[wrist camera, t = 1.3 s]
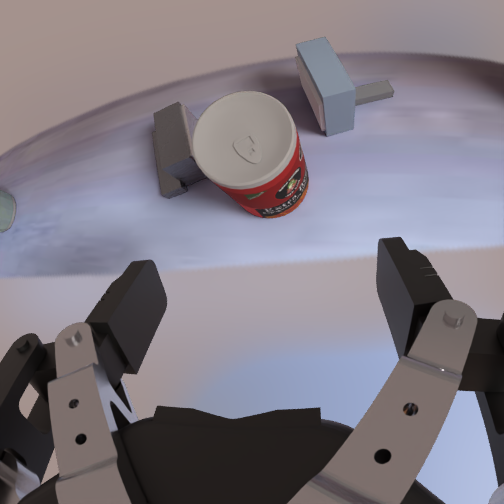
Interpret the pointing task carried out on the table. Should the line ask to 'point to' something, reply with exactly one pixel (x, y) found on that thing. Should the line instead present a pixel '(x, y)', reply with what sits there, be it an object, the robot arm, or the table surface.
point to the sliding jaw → (333, 87)
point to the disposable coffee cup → (6, 211)
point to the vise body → (175, 149)
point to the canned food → (252, 153)
